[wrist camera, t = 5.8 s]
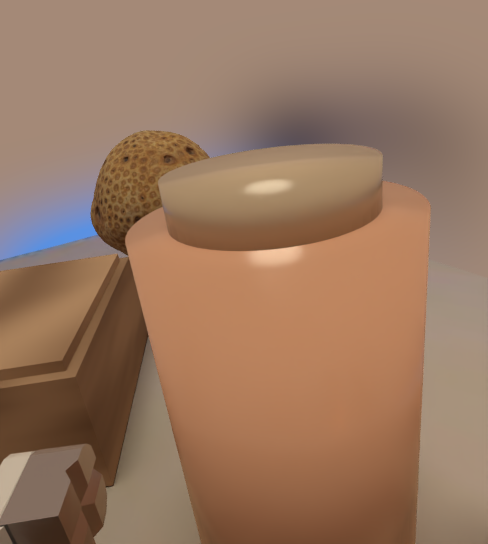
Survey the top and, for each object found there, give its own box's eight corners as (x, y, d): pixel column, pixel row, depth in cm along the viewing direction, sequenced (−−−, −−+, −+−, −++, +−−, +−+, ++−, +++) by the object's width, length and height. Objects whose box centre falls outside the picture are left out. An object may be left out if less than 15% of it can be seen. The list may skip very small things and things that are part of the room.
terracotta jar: (219, 720, 9) (72, 234, 5) (214, 508, 14) (137, 161, 9) (452, 679, 9) (515, 169, 5) (370, 482, 14) (366, 128, 9)
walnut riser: (-182, 532, 15) (-270, 418, 13) (-33, 361, 24) (-71, 279, 22) (113, 485, 15) (71, 366, 13) (148, 333, 24) (127, 249, 22)
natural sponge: (86, 304, 29) (38, 149, 25) (138, 252, 37) (109, 130, 33) (219, 299, 27) (190, 131, 23) (244, 246, 35) (226, 115, 31)
